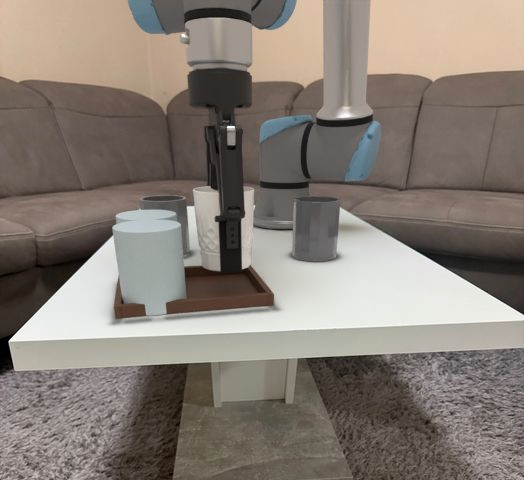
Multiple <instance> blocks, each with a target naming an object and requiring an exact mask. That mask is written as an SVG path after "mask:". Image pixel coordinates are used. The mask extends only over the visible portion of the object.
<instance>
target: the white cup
mask: <svg viewBox="0 0 524 480" xmlns="http://www.w3.org/2000/svg"><path fill="white" fill-rule="evenodd" d="M192 196H193V205H194V206H193V207H194V217H195V226H196V232H197V233H196V234H197V241H198V247H199V250H200V251H199V252H200V253H199V254H200V264H201V265H202V266H203V268H206V269H208V270H213V271H220V247H219V222H215V219H214V218H215V216H220V207H219V193H218V191H217V190H214V189H212V188H211V186H207V185H205V186H198V187H194V188H193V189H192ZM244 208H245V217H244V218H242V220H241V242H242V269H245V268H248V267H249V266H250V265H252V245H253V231H254V225H253V215H254V208H255V188H254V187H251V186H245V185H244Z"/></svg>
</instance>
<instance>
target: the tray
mask: <svg viewBox="0 0 524 480" xmlns="http://www.w3.org/2000/svg"><path fill="white" fill-rule="evenodd" d="M184 271H185V284H186V297H187V299H179V300H174V301H170V302H166V312H167V314H163V315H162V316H164V315H176V314H177V315H179V314H191V313H200V312H212V311H214V312H215V311H224V310H238V309H248V308H249V309H250V308H261V307H271V306H273V307H274V306H275V294H274V292H273V291H272V290H271V288H270V287H269V286H268V284H267V283H266V282H265V280H264V279H263V278H262V277H261V276H260V275H259V273H258V271H256V270H255V268H254V267H253V266H252V264H250V266H249V267H248V268H245V269H242V272H238V273H223V274H221V272H220V271H213V270H208V269H206V268H203V266H202V264H201V265H186V266H185V265H184ZM116 283H117V284H116V288H115V289H116V291H115V295H114V302H113V311H114V316H115V319H116V320H118V319H130V318H141V317H143V318H144V317H147V316H146V310H145V304H137V303H127V304H123V301H122V293H121V286H120V279H119V274H118V275H117V281H116ZM153 316H155V315H153ZM153 316H152V317H153Z"/></svg>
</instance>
